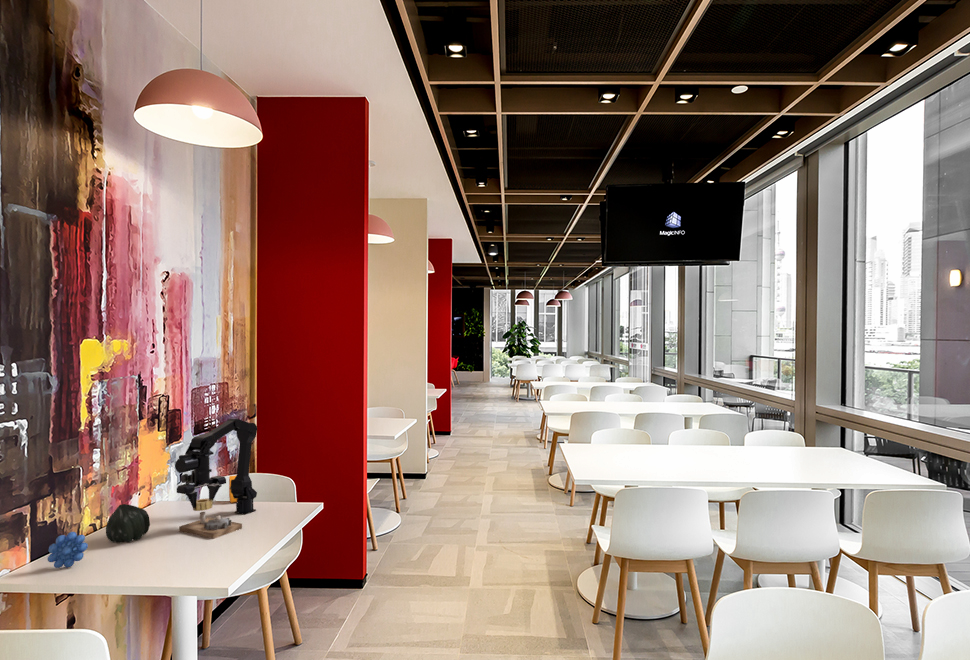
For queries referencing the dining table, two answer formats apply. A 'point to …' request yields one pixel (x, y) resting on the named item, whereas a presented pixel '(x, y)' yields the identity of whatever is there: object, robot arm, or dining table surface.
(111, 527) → the squash
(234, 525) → the gear board
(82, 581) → the dining table surface
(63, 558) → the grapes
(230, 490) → the bracket
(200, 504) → the brass gear
